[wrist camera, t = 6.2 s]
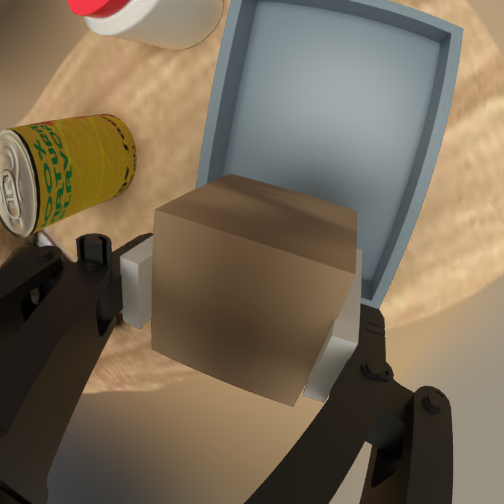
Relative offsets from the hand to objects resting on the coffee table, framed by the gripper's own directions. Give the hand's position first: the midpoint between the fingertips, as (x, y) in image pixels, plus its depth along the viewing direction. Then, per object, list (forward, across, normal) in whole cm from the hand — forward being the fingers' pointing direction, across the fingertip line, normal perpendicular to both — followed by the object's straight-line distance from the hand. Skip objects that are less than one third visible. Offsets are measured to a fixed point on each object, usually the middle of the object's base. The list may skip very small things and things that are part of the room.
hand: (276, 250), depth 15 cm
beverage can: (+11, -21, -1) cm, 24 cm away
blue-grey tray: (+11, 0, +5) cm, 12 cm away
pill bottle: (+11, -14, +14) cm, 23 cm away
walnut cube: (0, 0, 0) cm, 0 cm away
